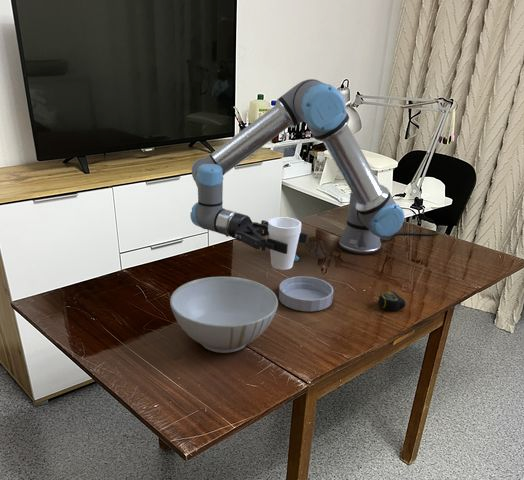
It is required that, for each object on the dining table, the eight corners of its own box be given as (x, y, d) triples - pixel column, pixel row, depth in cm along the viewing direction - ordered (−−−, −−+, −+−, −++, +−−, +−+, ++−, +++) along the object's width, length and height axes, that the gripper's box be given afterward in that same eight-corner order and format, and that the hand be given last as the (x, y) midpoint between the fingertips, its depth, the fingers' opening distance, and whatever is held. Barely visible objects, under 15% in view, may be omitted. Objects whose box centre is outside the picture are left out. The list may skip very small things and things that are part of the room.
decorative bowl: (265, 376, 130) (268, 332, 124) (157, 361, 134) (154, 317, 127) (282, 322, 153) (285, 282, 146) (189, 310, 156) (187, 271, 150)
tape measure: (405, 311, 162) (407, 300, 159) (384, 313, 160) (386, 302, 158) (393, 301, 167) (395, 289, 165) (373, 303, 165) (375, 292, 163)
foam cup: (261, 260, 163) (263, 218, 156) (289, 257, 166) (292, 215, 159) (274, 273, 156) (276, 229, 149) (303, 269, 159) (307, 226, 152)
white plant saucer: (309, 284, 174) (310, 272, 172) (342, 304, 163) (344, 292, 161) (268, 295, 166) (269, 283, 164) (300, 317, 155) (301, 305, 153)
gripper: (256, 227, 175) (315, 245, 165) (210, 247, 160) (273, 268, 149) (257, 204, 171) (318, 221, 160) (210, 222, 156) (274, 242, 145)
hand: (296, 244), depth 155 cm, fingers closed on foam cup, 9 cm apart
